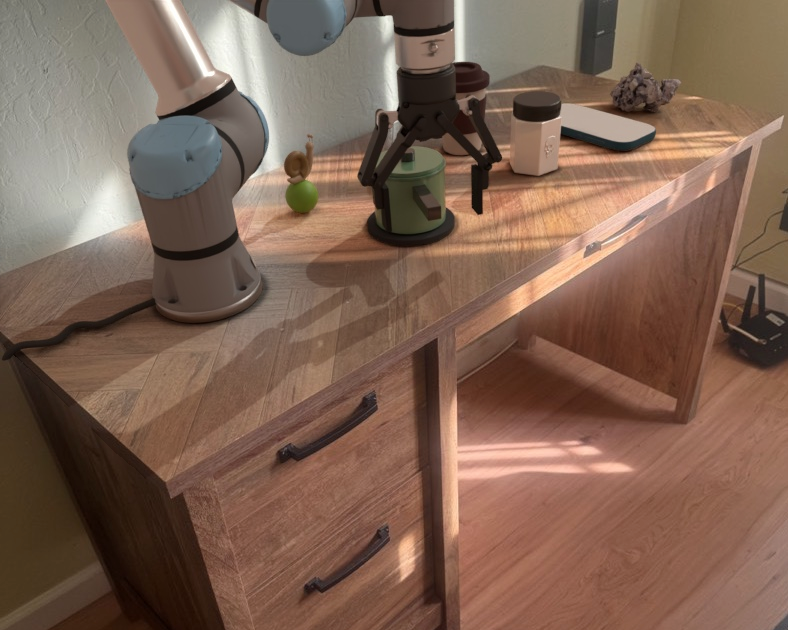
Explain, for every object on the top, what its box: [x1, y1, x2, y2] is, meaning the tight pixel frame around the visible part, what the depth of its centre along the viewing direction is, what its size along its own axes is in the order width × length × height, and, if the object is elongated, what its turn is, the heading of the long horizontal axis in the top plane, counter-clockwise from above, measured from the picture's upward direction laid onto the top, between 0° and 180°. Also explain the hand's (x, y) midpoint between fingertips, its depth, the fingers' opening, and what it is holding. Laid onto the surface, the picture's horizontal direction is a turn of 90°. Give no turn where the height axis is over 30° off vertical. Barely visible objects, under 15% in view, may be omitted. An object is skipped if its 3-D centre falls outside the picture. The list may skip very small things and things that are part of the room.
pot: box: [374, 145, 447, 234], centre depth 115 cm, size 12×19×11 cm, turn 15°
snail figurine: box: [283, 133, 319, 214], centre depth 125 cm, size 5×6×12 cm
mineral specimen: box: [609, 61, 682, 113], centre depth 155 cm, size 12×9×10 cm
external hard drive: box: [560, 102, 657, 152], centre depth 148 cm, size 24×12×2 cm, turn 40°
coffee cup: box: [441, 61, 491, 156], centre depth 141 cm, size 10×10×15 cm
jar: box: [509, 90, 562, 177], centre depth 134 cm, size 9×8×12 cm
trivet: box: [366, 207, 456, 247], centre depth 122 cm, size 14×14×1 cm
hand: (432, 219), depth 110 cm, fingers open, 13 cm apart
